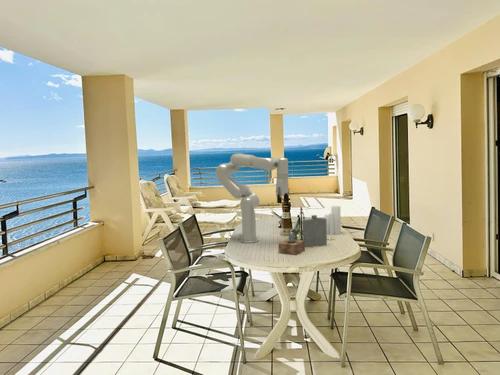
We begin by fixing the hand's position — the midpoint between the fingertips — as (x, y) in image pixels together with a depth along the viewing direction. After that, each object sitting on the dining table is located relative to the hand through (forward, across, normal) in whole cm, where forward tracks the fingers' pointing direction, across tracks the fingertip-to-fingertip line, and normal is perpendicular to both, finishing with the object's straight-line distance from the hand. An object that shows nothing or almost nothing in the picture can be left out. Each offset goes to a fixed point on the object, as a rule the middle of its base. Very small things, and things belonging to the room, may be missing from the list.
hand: (282, 202), depth 263 cm
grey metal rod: (+28, +16, +14) cm, 35 cm away
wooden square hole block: (+28, +16, +14) cm, 36 cm away
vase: (+28, -41, +20) cm, 53 cm away
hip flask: (+28, -4, +21) cm, 35 cm away
